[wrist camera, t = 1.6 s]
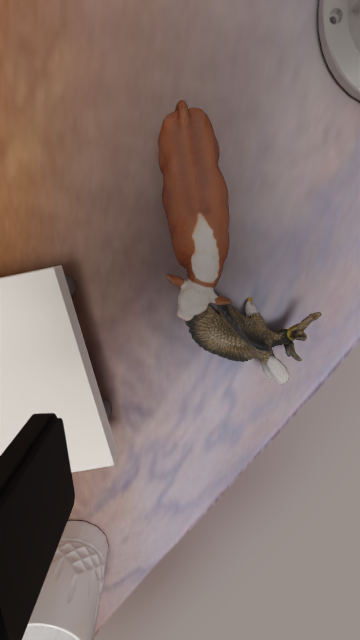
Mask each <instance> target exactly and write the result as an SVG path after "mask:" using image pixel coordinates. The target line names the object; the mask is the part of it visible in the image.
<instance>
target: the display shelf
mask: <svg viewBox="0 0 360 640" xmlns="http://www.w3.org/2000/svg"><path fill="white" fill-rule="evenodd" d="M75 291H76V284H75V281H74V280H73V279H72V278H71V277H70V276H68V275H64V272H63V268H62V265H59V266H54V267H49V268H44V269H39V270H34V271H30V272H25V273H20V274H15V275H10V276H5V277H1V278H0V456H1V454H2V453H3V452H4V451H5V449H6V448H7V447H8V445H9V444H10V443H11V442H12V440H13V439H14V438H15V436H16V435H17V434H18V433H19V431H20V430H21V429H22V427H23V426H24V425H25V424H26V422H27V421H28V420H29V418H30V417H31V416H32V415H33V414H39V413H55V414H56V416H57V418H61V419H62V420H63V424H64V430H65V436H66V442H67V449H68V455H69V461H70V467H71V472H77V471H83V470H89V469H95V468H101V467H107V466H113V465H115V461H116V458H117V454H118V451H117V448H116V445H115V441H114V438H113V435H112V431H111V428H110V425H109V422H108V418H109V415H110V412H111V409H112V407H111V404H110V402H109V401H108V400H106V399H104V398H101V395H100V392H99V388H98V385H97V382H96V378H95V375H94V372H93V368H92V365H91V362H90V358H89V355H88V352H87V348H86V345H85V342H84V338H83V335H82V332H81V328H80V325H79V322H78V318H77V315H76V312H75V308H74V305H73V302H72V298H71V296H72V295H73V294H74V293H75Z"/></svg>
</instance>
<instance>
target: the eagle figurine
mask: <svg viewBox="0 0 360 640" xmlns="http://www.w3.org/2000/svg"><path fill="white" fill-rule="evenodd" d="M214 293H215V294H216V295H219V294H218V293H217V292H216V291H215V290H214ZM219 296H220V295H219ZM217 307H218V310H219V312H220V314H221V316H220V315H219V314H218V313H217V312H216V311H215V310H214V309H213V308H212V307H211V306H209V304H208V307H207V309H206V310H205V311H203V312H202V313H200V314H197V315H194V317H193V318H192V319H191V320H189V321H186V325H187V326H188V327H190V328H191V329H190V330H189V332H190V333H191V334H192V338H193V339H194V340H195V342H196V343H198V344H199V346H200V347H203V348H204V350H207V351H209V352H211V353H213V354H218V356H222V357H223V358H227V359H229V360H233V361H242V362H244V361H248V360H251V359H253V358H258V359H260V360H261V362H262V368H263V372H264V373H265V374H266V375H267V376H268V377H270V378H271V379H273V380H274V381H275V382H277V383H280V384H284V383H287V381H288V379H289V373H288V370H287V368H286V367H285V366H284V364H283V363H282V362H281V361H280V360H278V359H277V358H276V357H275V356H274V354H273V350H272V348H271V347H275V346H277V345H282V344H284V347H285V350H286V354H287V356H288V357H289V356H290V355H291V356H292V357H293V358H294V359H295V360H297V361H302V359H301V358H300V357H299V356H298V355H297V354H296V352H295V350H294V343H293V342H292V341H293V340H294V339H296V340H303V341H305V340H306V338H307V336H306V334H305V333H304V332H303V331H304V330H305V329H306V327H307V326H308V325H309V324H310V323H311V322H312V321H314V320H316V319H318V318H319V317H320V316H321V313H320V312H317V313H312V314H310V315H309V316H308V317H306V318H305V319H304V320H302V322H301V323H299V324H296V325H294V326H292V327H290V328H289V329H280V330H278V331H276V332H272V331H270V330H269V329H268V328H267V327H266V323H265V321H264V319H263V318H262V316H261V315H260V313H259V312H258V311H257V309H256V307H255V306H254V304H253V303H252V298H251V297H250V298H248V300H247V303H246V305H245V312H246V316H247V317H244V316H243V315H241V314H240V313H239V312H238V311H237V310H236V309H235V308H234V307H233V306H232V305H230V304H225V305H217Z"/></svg>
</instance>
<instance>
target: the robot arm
mask: <svg viewBox="0 0 360 640" xmlns="http://www.w3.org/2000/svg"><path fill="white" fill-rule="evenodd" d="M318 20H319V36H320V41H321V46H322V51H323V54H324V56H325V59H326V61H327V64H328V66H329V69H330V70H331V72H332V74H333V75H334V77H335V78H336V80H337V81H338V83H339V84H340V85H341V86H342V87H343V88H344V89H345V90H346V91H347V92H348V93H349V94H350V95H351V96H353V97H354V98H356V99H358V100H359V101H360V0H320V2H319V9H318ZM330 20H331V21H332V22H333V24H332V23H331V22H330ZM74 499H75V492H74V486H73V480H72V473H71V467H70V461H69V455H68V449H67V442H66V436H65V430H64V424H63V420H62V419H61V418H57V416H56V414H55V413H39V414H33V415H32V416H31V417H30V418H29V420H28V421H27V422H26V424H25V425H24V426H23V427H22V429H21V430H20V431H19V433H18V434H17V435H16V436H15V438H14V439H13V440H12V442H11V443H10V444H9V445H8V447H7V448H6V449H5V451H4V452H3V453H2V454H1V456H0V640H22V638H23V636H24V633H25V631H26V628H27V625H28V623H29V620H30V618H31V615H32V612H33V610H34V607H35V605H36V602H37V599H38V597H39V594H40V591H41V589H42V586H43V584H44V581H45V578H46V576H47V573H48V571H49V568H50V565H51V563H52V560H53V558H54V555H55V552H56V550H57V547H58V545H59V542H60V539H61V537H62V534H63V532H64V529H65V526H66V524H67V521H68V519H69V516H70V513H71V511H72V508H73V505H74Z"/></svg>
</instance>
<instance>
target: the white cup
mask: <svg viewBox="0 0 360 640" xmlns="http://www.w3.org/2000/svg"><path fill="white" fill-rule="evenodd" d="M107 553H108V543H107V539H106V536H105V535H104V534H103V533H102V531H101V530H100V529H99V528H98V527H96V526H94V525H92V524H90V523H87V522H85V521H67V524H66V526H65V529H64V532H63V534H62V537H61V539H60V542H59V545H58V547H57V550H56V552H55V555H54V558H53V560H52V563H51V565H50V568H49V571H48V573H47V576H46V578H45V581H44V584H43V586H42V589H41V591H40V594H39V597H38V599H37V602H36V605H35V607H34V610H33V612H32V615H31V618H30V620H29V623H28V625H27V628H26V631H25V633H24V636H23V638H22V640H94V635H95V629H96V623H97V618H98V612H99V606H100V601H101V595H102V588H103V581H104V569H105V563H106V558H107Z"/></svg>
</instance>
